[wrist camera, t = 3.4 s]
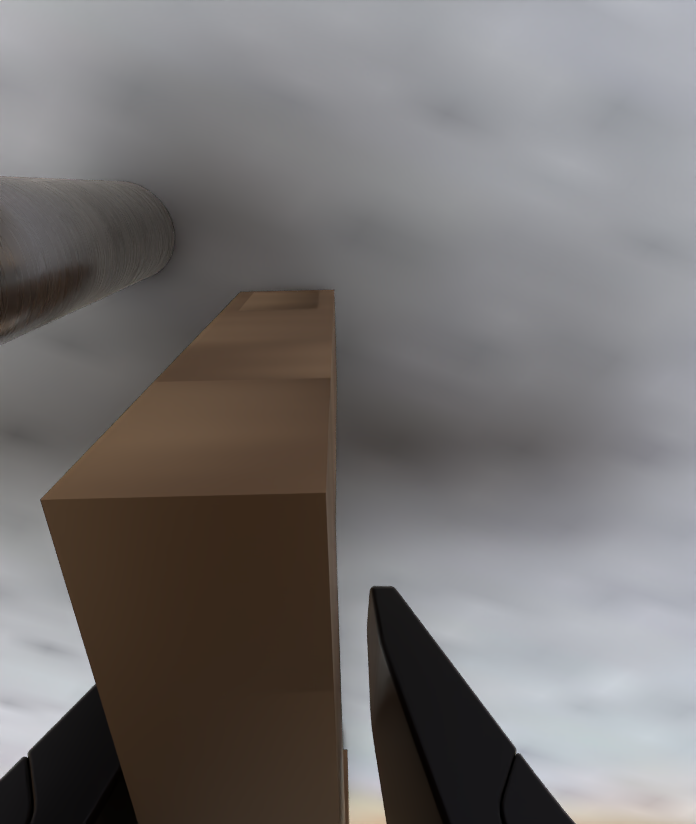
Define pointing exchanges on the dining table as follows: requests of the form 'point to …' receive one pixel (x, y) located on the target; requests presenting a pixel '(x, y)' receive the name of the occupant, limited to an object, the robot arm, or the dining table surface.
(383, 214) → the dining table surface
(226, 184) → the dining table surface
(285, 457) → the wooden frame
